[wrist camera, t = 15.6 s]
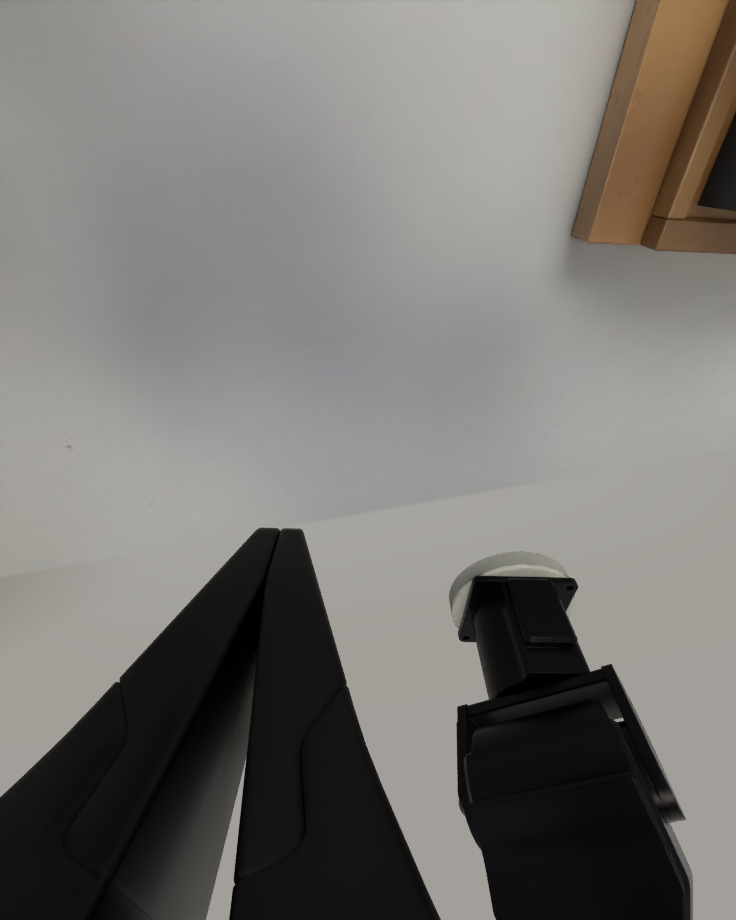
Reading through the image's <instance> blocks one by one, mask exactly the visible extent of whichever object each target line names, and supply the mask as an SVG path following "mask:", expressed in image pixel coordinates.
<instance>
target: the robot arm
mask: <svg viewBox="0 0 736 920" xmlns="http://www.w3.org/2000/svg"><path fill="white" fill-rule="evenodd" d="M577 589H578V585H577V583H576V581H575V579H573V578H562V577H522V576H482V575H481V576H477V577H475V578H473V580H472V583H471V586H470V590H469V594H468V597H467V601H466V605H465V608H464V612H463V616H462V619H461V623H460V627H459V631H458V636H459V640H461V641H463V642H476V643H477V648H478V652H479V656H480V661H481V666H482V670H483V675H484V679H485V683H486V688H487V693H488V697H489V700H487V701H483V702H480V703H476V704H472V705H469V706H468V705H467V704H466V705H462V706H459V707H458V708H457V710H458V711H457V712H458V722H457V767H458V768H457V770H458V796H459V806H460V810H461V812H462V813H463V814H464V815H465V816H466V820H467V823H468V826H469V828H470V831H471V833H472V835H473V838H474V840H475V842H476V843H477V845H478V846H479V848H480V849H481V850H482V854H483V858H484V863H485V868H486V873H487V878H488V884H489V890H490V896H491V901H492V907H493V912H494V916H495V918H496V920H693V879H692V872H691V869H690V867H689V864H688V862H687V860H686V858H685V856H684V853H683V851H682V849H681V847H680V845H679V842H678V840H677V838H676V836H675V833H674V831H673V829H672V827H671V825H670V822H676V821H682V820H686V819H685V816H684V814H683V812H682V809H681V807H680V805H679V803H678V801H677V798H676V796H675V794H674V792H673V790H672V788H671V785H670V783H669V781H668V779H667V777H666V774H665V772H664V770H663V768H662V765H661V763H660V761H659V759H658V757H657V754H656V752H655V750H654V748H653V746H652V744H651V741H650V739H649V737H648V736H647V733H646V731H645V730H644V727H643V725H642V723H641V721H640V719H639V717H638V715H637V713H636V711H635V709H634V707H633V704H632V702H631V700H630V699H629V697H628V695H627V693H626V691H625V689H624V687H623V685H622V683H621V681H620V679H619V678H618V676H617V674H616V672H615V670H614V668H613V666H612V664H609V665H606V666H602V667H601V668H602V669H599V670H595V671H592V672H590V670H589V667H588V665H587V663H586V660H585V658H584V656H583V653H582V651H581V649H580V647H579V644H578V642H577V637H576V635H575V632H574V630H573V628H572V625H571V623H570V621H569V618H568V616H567V614H566V611H567V609H568V607H569V605H570V603H571V601H572V599H573V597H574V595H575V593H576V591H577ZM622 717H623V719H624V721H622V722H616V721H614V719H618V718H622ZM246 756H247V758H246ZM245 760H246V767H245V777H244V787H243V796H242V805H241V816H240V824H239V834H238V844H237V854H236V863H235V872H234V883H235V886H234V888H233V893H232V902H231V910H230V918H229V920H441V919H440V917H439V915H438V913H437V911H436V909H435V907H434V904H433V902H432V900H431V898H430V895H429V893H428V891H427V889H426V886H425V884H424V882H423V880H422V877H421V875H420V873H419V871H418V868H417V866H416V863H415V861H414V859H413V856H412V854H411V852H410V849H409V847H408V845H407V842H406V840H405V838H404V835H403V833H402V831H401V829H400V827H399V824H398V821H397V819H396V817H395V815H394V812H393V810H392V808H391V805H390V803H389V801H388V798H387V796H386V794H385V791H384V789H383V787H382V784H381V782H380V779H379V777H378V774H377V772H376V769H375V766H374V764H373V762H372V759H371V757H370V754H369V752H368V749H367V746H366V743H365V741H364V737H363V734H362V731H361V728H360V725H359V722H358V719H357V716H356V713H355V710H354V706H353V703H352V699H351V696H350V692H349V689H348V687H347V686H346V679H345V675H344V672H343V668H342V665H341V661H340V658H339V654H338V651H337V647H336V644H335V641H334V637H333V634H332V630H331V627H330V623H329V620H328V616H327V613H326V609H325V606H324V602H323V599H322V595H321V592H320V589H319V585H318V581H317V578H316V575H315V571H314V567H313V564H312V560H311V557H310V553H309V550H308V546H307V543H306V540H305V536H304V533H303V531H302V530H301V529H292V528H283V529H282V530H281V531H280V530H279V529H278V528H259V529H257V530H256V531H255V532H254V533H253V534H252V535H251V536H250V538H249V539H248V540H247V541H246V542H245V543H244V544H243V545H242V546H241V547H240V548H239V549H238V551H237V552H236V553H235V554H234V555H233V556H232V557H231V558H230V559H229V560H228V561H227V562H226V563H225V565H224V566H223V567H222V568H221V569H220V570H219V571H218V572H217V573H216V574H215V575H214V576H213V577H212V579H211V580H210V581H209V582H208V583H207V584H206V585H205V586H204V587H203V588H202V589H201V591H200V592H199V593H198V594H197V595H196V596H195V597H194V598H193V599H192V600H191V601H190V603H188V605H187V606H186V607H185V608H184V609H183V610H182V611H181V612H180V613H179V614H178V616H176V618H175V619H174V620H173V621H172V622H171V623H170V624H169V625H168V626H167V627H166V628H165V630H164V631H163V632H162V633H161V634H160V635H159V636H158V637H157V638H156V639H155V640H154V641H153V642H152V644H151V645H150V646H149V647H148V648H147V649H146V650H145V651H144V652H143V653H142V654H141V656H139V658H138V659H137V660H136V661H135V662H134V663H133V664H132V665H131V666H130V667H129V668H128V669H127V671H126V672H125V673H124V674H123V675H122V676H121V677H120V682H115V684H113V686H112V687H111V688H110V689H109V690H108V691H107V692H106V693H105V694H104V695H103V696H102V697H101V698H100V700H99V701H98V702H97V703H96V704H95V705H94V706H93V707H92V708H91V709H90V710H89V711H88V712H87V713H86V714H85V715H84V716H83V717H82V718H81V719H80V720H79V721H78V723H77V724H76V725H75V726H74V727H73V728H72V729H71V730H70V731H69V732H68V733H67V734H66V735H65V736H64V737H63V738H62V739H61V740H60V741H59V742H58V743H57V744H56V745H55V746H54V747H53V748H52V749H51V750H50V751H49V752H48V753H47V754H46V755H44V756H43V757H42V758H41V759H40V760H39V761H38V762H37V763H36V764H35V765H34V766H33V767H32V768H31V769H30V770H29V771H28V772H27V773H26V774H25V775H24V776H23V777H22V778H21V779H19V780H18V781H17V782H16V783H15V784H14V785H13V786H12V787H11V788H10V789H9V790H8V791H7V792H6V793H4V794H3V795H2V796H1V797H0V920H206V916H207V913H208V909H209V905H210V901H211V896H212V893H213V889H214V885H215V880H216V876H217V872H218V868H219V864H220V860H221V856H222V852H223V848H224V844H225V840H226V836H227V832H228V828H229V824H230V820H231V816H232V812H233V808H234V804H235V800H236V796H237V792H238V787H239V784H240V780H241V776H242V771H243V768H244V764H245Z"/></svg>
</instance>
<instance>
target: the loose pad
mask: <svg viewBox="0 0 736 920" xmlns="http://www.w3.org/2000/svg"><path fill="white" fill-rule="evenodd" d="M698 205H699V206H705V207H711V208H718V209H724V210H730V211H736V113H735V116H734V118H733V121H732V123H731V125H730V128H729V130H728V133H727V135H726V138H725V140H724V142H723V145H722V147H721V150H720V152H719V154H718V157H717V159H716V162H715V164H714V166H713V169H712V171H711V174H710V176H709V178H708V181H707V183H706V186H705V188H704V190H703V193H702V195H701V198H700V200H699V202H698Z"/></svg>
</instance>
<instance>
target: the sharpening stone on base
mask: <svg viewBox="0 0 736 920" xmlns="http://www.w3.org/2000/svg"><path fill="white" fill-rule="evenodd" d="M735 113H736V0H637V1H636V5H635V9H634V12H633V16H632V19H631V23H630V27H629V30H628V34H627V37H626V41H625V45H624V48H623V52H622V55H621V59H620V62H619V66H618V70H617V73H616V77H615V80H614V84H613V88H612V91H611V95H610V98H609V102H608V106H607V109H606V113H605V116H604V120H603V123H602V127H601V131H600V134H599V138H598V141H597V145H596V149H595V152H594V156H593V159H592V163H591V167H590V170H589V174H588V177H587V181H586V184H585V188H584V192H583V195H582V199H581V202H580V206H579V210H578V213H577V217H576V220H575V224H574V228H573V231H572V236H573V237H575V238H578V239H580V240H582V241H585V242H587V243H603V244H626V245H642V246H644V247H647V248H650V249H653V250H656V251H679V252H702V253H725V254H736V211H730V210H724V209H718V208H711V207H705V206H699V205H698V202H699V200H700V198H701V195H702V193H703V190H704V188H705V186H706V183H707V181H708V178H709V176H710V174H711V171H712V169H713V166H714V164H715V162H716V159H717V157H718V154H719V152H720V150H721V147H722V145H723V142H724V140H725V138H726V135H727V133H728V130H729V128H730V125H731V123H732V121H733V118H734V116H735Z"/></svg>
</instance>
